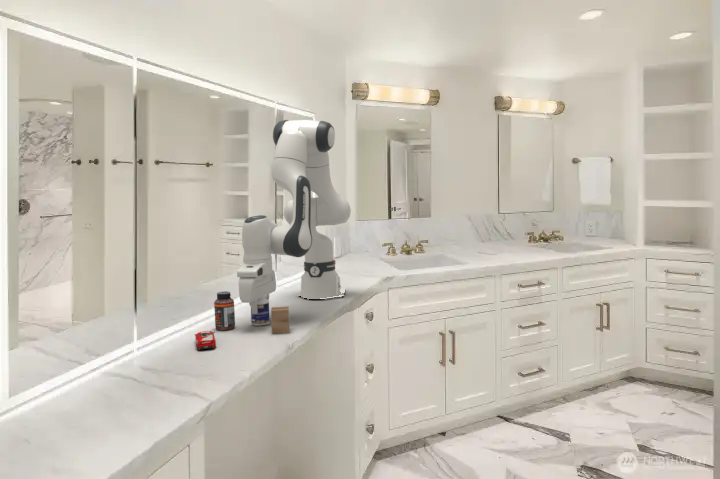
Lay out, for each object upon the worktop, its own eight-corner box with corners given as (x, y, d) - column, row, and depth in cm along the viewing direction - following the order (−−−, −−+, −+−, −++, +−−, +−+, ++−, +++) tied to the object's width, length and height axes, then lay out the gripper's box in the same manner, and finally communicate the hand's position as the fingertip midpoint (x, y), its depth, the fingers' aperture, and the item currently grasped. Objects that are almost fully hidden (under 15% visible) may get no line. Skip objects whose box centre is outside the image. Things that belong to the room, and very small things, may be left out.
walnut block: (272, 330, 162) (271, 307, 161) (289, 329, 163) (288, 306, 162) (272, 334, 157) (271, 310, 157) (289, 333, 158) (288, 309, 157)
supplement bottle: (211, 329, 165) (209, 292, 164) (228, 325, 170) (226, 289, 169) (222, 332, 161) (220, 295, 160) (239, 328, 166) (237, 291, 165)
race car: (195, 340, 154) (194, 327, 154) (214, 338, 156) (214, 325, 155) (195, 353, 141) (194, 338, 141) (216, 350, 143) (215, 335, 143)
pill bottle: (257, 327, 166) (255, 295, 165) (248, 324, 170) (246, 293, 169) (273, 323, 170) (271, 292, 169) (263, 320, 174) (262, 290, 173)
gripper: (262, 263, 179) (264, 304, 180) (234, 272, 159) (236, 318, 161) (279, 263, 178) (281, 304, 179) (253, 272, 158) (256, 318, 159)
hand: (260, 311), depth 170 cm, fingers closed on pill bottle, 6 cm apart
